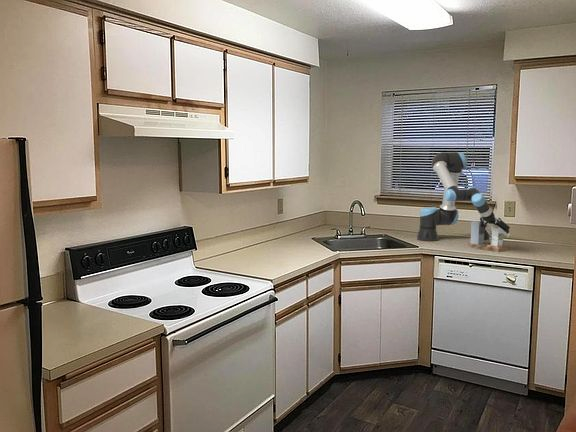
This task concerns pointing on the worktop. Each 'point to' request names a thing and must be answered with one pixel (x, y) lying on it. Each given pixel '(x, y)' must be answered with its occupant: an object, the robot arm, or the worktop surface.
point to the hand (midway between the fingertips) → (499, 234)
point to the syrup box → (496, 236)
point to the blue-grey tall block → (477, 233)
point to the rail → (489, 247)
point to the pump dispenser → (486, 237)
